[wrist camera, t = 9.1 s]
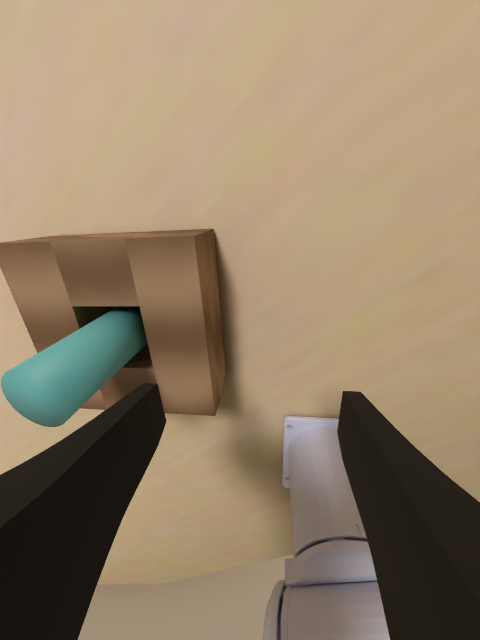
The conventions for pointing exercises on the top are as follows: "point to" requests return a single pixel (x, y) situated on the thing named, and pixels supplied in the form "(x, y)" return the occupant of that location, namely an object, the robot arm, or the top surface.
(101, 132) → the top surface
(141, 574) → the top surface
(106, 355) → the peg
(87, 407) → the socket block
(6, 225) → the top surface
